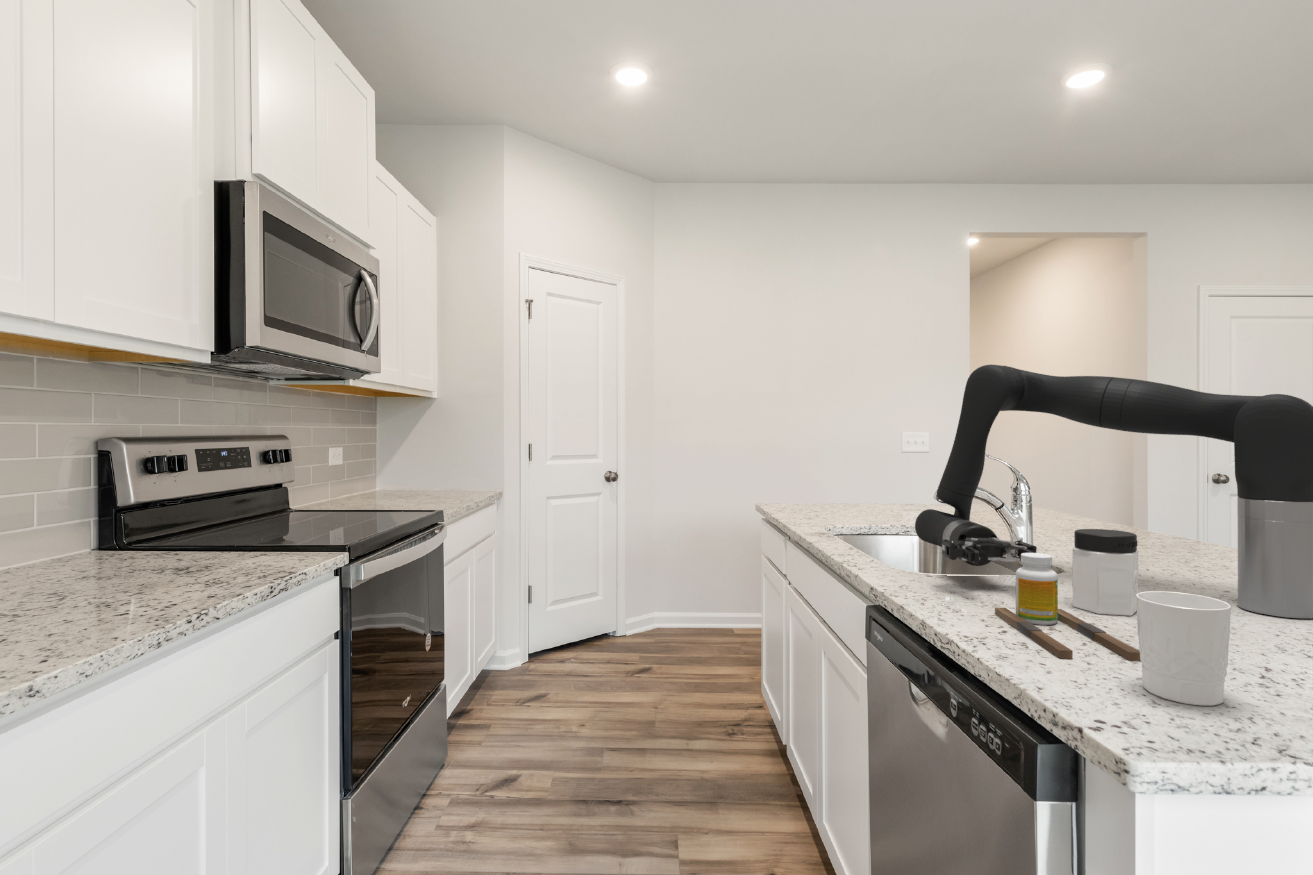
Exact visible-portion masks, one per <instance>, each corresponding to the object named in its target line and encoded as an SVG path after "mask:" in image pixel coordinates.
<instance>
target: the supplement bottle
mask: <svg viewBox="0 0 1313 875" xmlns="http://www.w3.org/2000/svg"><path fill="white" fill-rule="evenodd" d="M1020 563H1021V564H1022V566H1021V567H1019V568H1017V569H1016V571H1015V614H1016V615H1017V616H1019V617H1021V618H1022V619H1024V620H1025V621H1027V622H1030V623H1031V624H1033V625H1036V626H1038V625H1040V626H1051V625H1052V626H1053V625H1055V624H1057V623H1058V622H1059V620H1058V609H1059V607H1058V606H1059V604H1058V603H1059V602H1058V601H1059V597H1058V596H1059V593H1058V590H1059V588H1058V586H1059V585H1058V581H1059V580H1058V579H1059V578H1058V574H1057V572H1056V571H1055V570H1053V569H1051V567H1052V566H1053V557H1052V555H1050V554H1046V553H1039V552H1036V553H1022V554H1021V561H1020Z"/></svg>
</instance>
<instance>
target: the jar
mask: <svg viewBox="0 0 1313 875" xmlns="http://www.w3.org/2000/svg"><path fill="white" fill-rule="evenodd" d="M1073 534H1074V535H1073V536H1074V547H1072V607H1073V608H1077V609H1080V610H1083V611H1087V612H1091V613H1094V614H1097V615H1106V616H1107V615H1108V616H1109V615H1110V616H1111V615H1112V616H1124V617H1132V616H1133V615H1134V614H1135V613H1137V605H1136V594H1137V593H1139V550H1138V540H1137V539H1138V536H1137V534H1136V533H1133V532H1129V531H1124V530H1116V529H1106V528H1105V529H1102V528H1081V529H1075V530H1074V533H1073Z"/></svg>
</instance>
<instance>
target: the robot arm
mask: <svg viewBox="0 0 1313 875" xmlns="http://www.w3.org/2000/svg"><path fill="white" fill-rule="evenodd" d="M963 392H964V393H963V398H962V404H961V410H960V415H959V419H958V424H957V428H956V433H955V436H954V440H953V444H952V446H951V447H952V448H951V451H950V454H949V457H948V459H947V462H946V466H945V468H944V470H943V474H942V476H941V479H940V481H939V484H938V487H937V490H936V497H937V498H938V500H940V501H941V502H943V503H944V504H946V505H948V506H951V508H954V514H952V513H949V512H945V511H944V512H943V511H941V510H937V509H931V508H930V509H929V508H928V509H925V510H924V509H923V511H921V512H920V513H919V514H918V516H917V517H916V519H915V522H914V529H915V533H916V535H917V537H918V538H919V539H920V540H921V541H923V542H926V543H929V544H931V545H934V546H938V547H940V548H941V550H942V551H941V553H942V555H944V556H945V557H947V558H948V559H949V560H952V561H954V560H957V559H958V560H961V561H962V562H965V563H966V564H967V565H969V566H973V567H982V566H987V565H988V564H990V563H991V562H993V561H995V562H996V561H1002V562H1006V563H1007V562H1008V563H1010V562H1011V563H1012V562H1015V561H1017V562H1021V554H1022V553H1037V550H1038V549H1037V548H1038V547H1037V546H1035V545H1033V544H1030V543H1027V542H1024V541H1021V540H1016V541H1009V540H1003V539H1000V538H999V537H998V536H997V535H996V533H995V532H994V531H993V530H992V529H990V528H989V527H987V526H985V525H983V524H979V523H977V522H975V521H972V520H971V510H972V504H973V500H974V497H975V495H976V492H977V489H978V486H979V484H980V481H981V478H982V475H983V472H984V468H985V460H986V448H987V443H988V438H989V435H990V432H991V428H992V426H993V424H994V422H995V420H996V419H997V417H998V415H999V413H1000V412H1005V411H1007V412H1009V411H1010V412H1011V411H1013V412H1014V411H1015V412H1018V411H1019V412H1033V413H1044V414H1050V415H1054V416H1057V417H1058V416H1059V417H1061V418H1064V419H1067V420H1070V421H1073V422H1077V423H1079V424H1083V425H1084V424H1085V425H1087V426H1092V427H1096V428H1097V427H1098V428H1103V429H1108V430H1109V429H1110V430H1115V431H1121V432H1130V433H1138V434H1147V435H1148V434H1149V435H1151V434H1152V435H1168V436H1173V435H1174V436H1194V437H1202V438H1203V437H1204V438H1211V439H1213V440H1220V441H1225V442H1229V443H1234V444H1233V447H1234V448H1233V450H1234V451H1233V452H1234V454H1233V456H1234V477H1235V481H1236V488H1237V489H1236V490H1237V497H1236V498H1237V500H1236V501H1237V606H1238V607H1239V608H1240V609H1243V610H1245V611H1250V612H1253V613H1257V614H1264V615H1269V616H1274V617H1280V618H1290V619H1291V618H1292V619H1313V405H1312V404H1311V403H1310V402H1308V401H1307V400H1305V399H1302V398H1299V397H1297V396H1293V395H1290V394H1282V393H1272V394H1266V395H1265V394H1264V395H1239V394H1238V395H1237V394H1222V393H1221V394H1219V393H1211V392H1210V393H1209V392H1203V391H1200V390H1199V391H1198V390H1194V389H1189V388H1185V387H1181V386H1175V385H1173V384H1172V385H1171V384H1166V383H1160V382H1155V381H1148V380H1143V379H1136V378H1135V379H1134V378H1127V377H1126V378H1125V377H1117V376H1116V377H1115V376H1102V375H1101V376H1098V375H1075V376H1074V375H1071V376H1059V375H1057V376H1056V375H1050V374H1044V373H1038V372H1033V371H1028V370H1023V369H1019V368H1016V367H1012V366H1008V365H999V364H985V365H982V366H979V367H977V368H976V369H974V370H973V371H972V372H971V373H970V374H969V376H968V378H967V381H966V384H965V387H964V391H963ZM1005 555H1006V556H1005Z"/></svg>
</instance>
